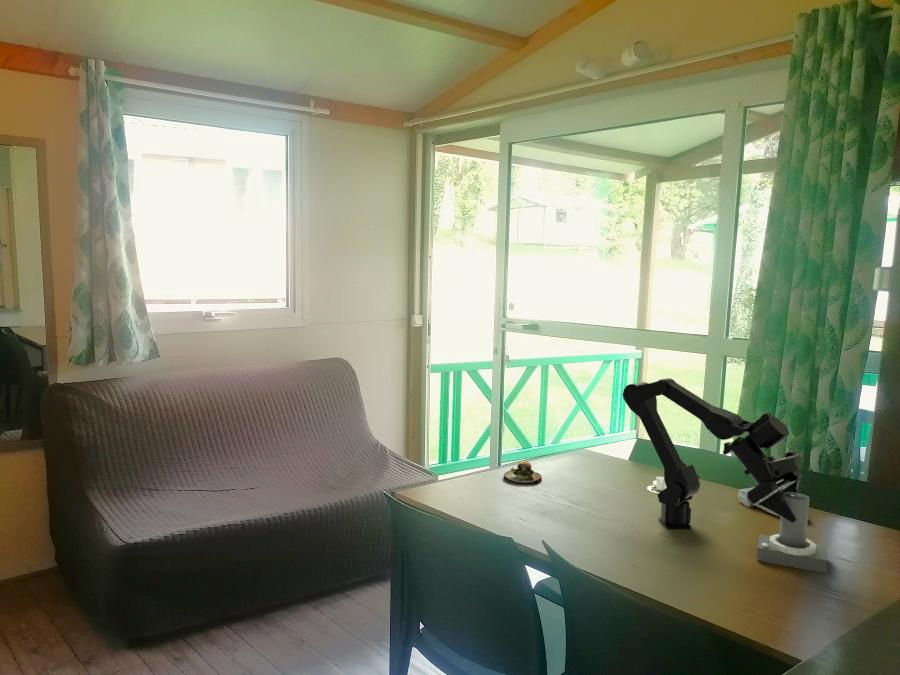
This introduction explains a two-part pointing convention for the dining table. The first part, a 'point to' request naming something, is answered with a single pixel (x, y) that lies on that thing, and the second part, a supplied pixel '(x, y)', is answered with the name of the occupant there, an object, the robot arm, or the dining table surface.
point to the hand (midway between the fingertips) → (800, 517)
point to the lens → (795, 531)
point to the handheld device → (743, 498)
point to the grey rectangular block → (792, 554)
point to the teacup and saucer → (658, 484)
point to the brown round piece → (523, 473)
